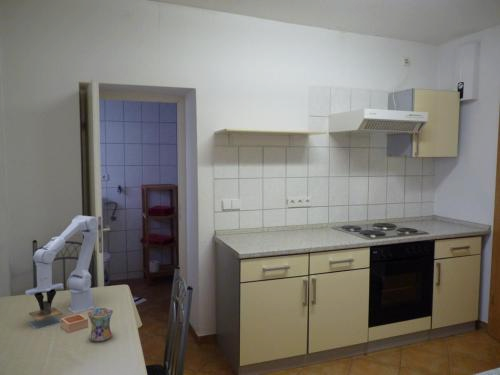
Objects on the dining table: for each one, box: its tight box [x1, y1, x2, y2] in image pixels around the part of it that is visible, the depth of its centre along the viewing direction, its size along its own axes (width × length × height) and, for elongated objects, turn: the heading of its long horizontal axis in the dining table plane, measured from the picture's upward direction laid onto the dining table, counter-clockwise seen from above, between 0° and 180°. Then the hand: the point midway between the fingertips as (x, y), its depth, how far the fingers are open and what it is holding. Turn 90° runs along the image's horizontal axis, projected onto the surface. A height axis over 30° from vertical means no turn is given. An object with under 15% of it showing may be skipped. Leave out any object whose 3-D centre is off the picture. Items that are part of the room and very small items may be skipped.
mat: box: [27, 316, 61, 331], centre depth 171 cm, size 11×11×1 cm
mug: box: [87, 307, 114, 342], centre depth 159 cm, size 12×9×11 cm
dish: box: [60, 313, 89, 334], centre depth 167 cm, size 8×8×4 cm
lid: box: [28, 300, 63, 321], centre depth 171 cm, size 10×10×5 cm
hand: (45, 308), depth 171 cm, fingers closed on lid, 2 cm apart
